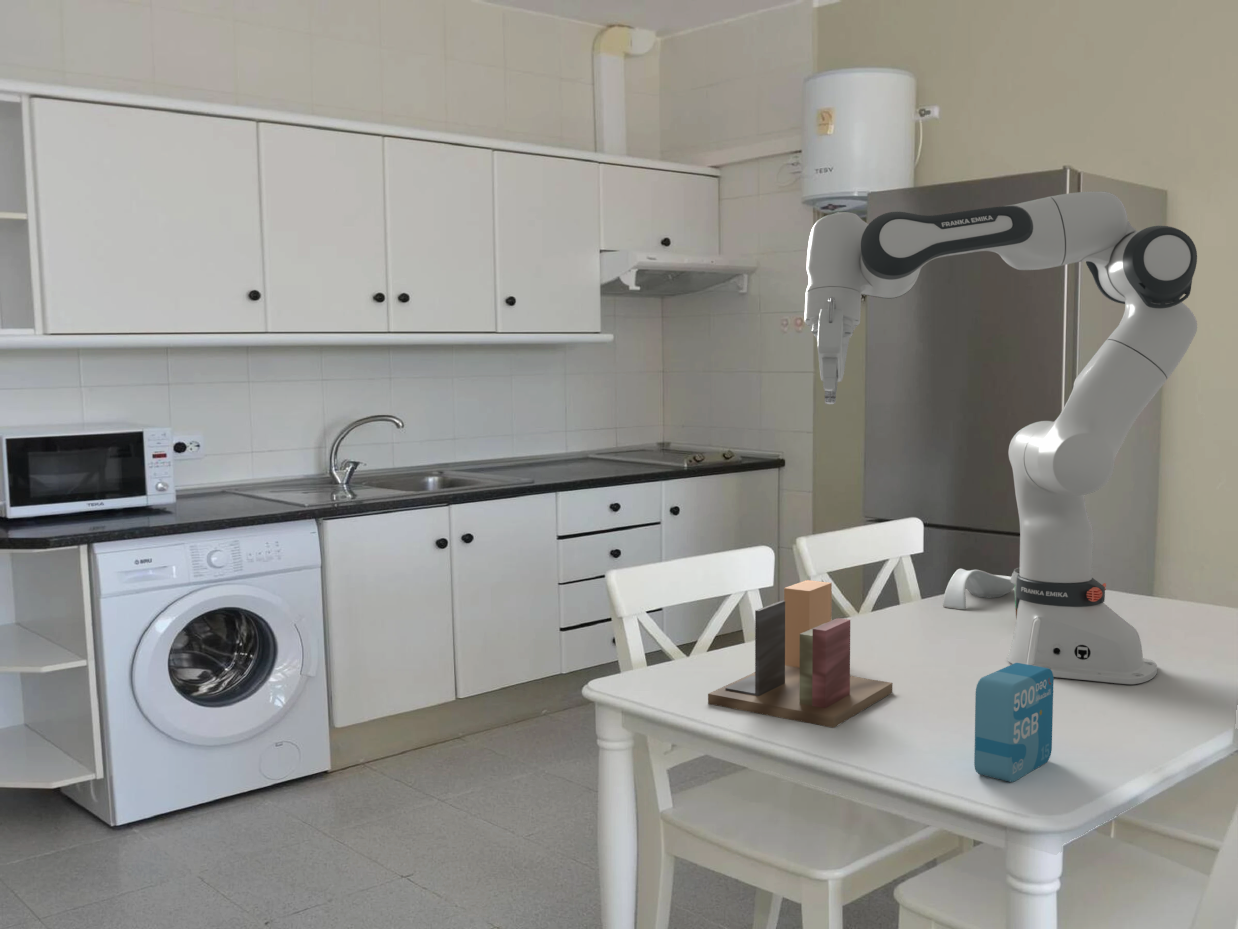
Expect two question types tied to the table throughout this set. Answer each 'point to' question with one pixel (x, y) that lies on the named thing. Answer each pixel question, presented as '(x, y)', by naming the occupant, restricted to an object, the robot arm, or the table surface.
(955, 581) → the spoon rest
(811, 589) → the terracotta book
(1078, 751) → the table surface
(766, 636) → the wooden bookend stand
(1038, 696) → the data package
